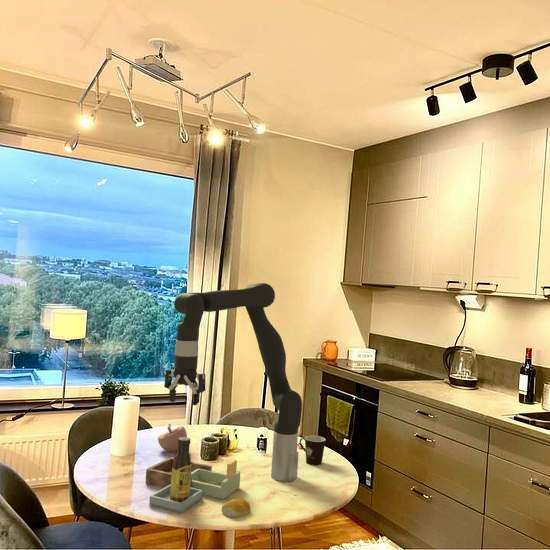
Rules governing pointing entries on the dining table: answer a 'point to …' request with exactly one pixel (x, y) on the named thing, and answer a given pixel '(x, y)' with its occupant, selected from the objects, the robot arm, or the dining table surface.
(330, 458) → the dining table surface
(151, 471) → the walnut bay
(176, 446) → the pinkish brown apple
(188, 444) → the sauce bottle
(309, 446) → the coffee mug
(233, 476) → the caddy
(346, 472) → the dining table surface
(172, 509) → the tray
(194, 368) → the robot arm
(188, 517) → the dining table surface
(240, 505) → the bread roll
